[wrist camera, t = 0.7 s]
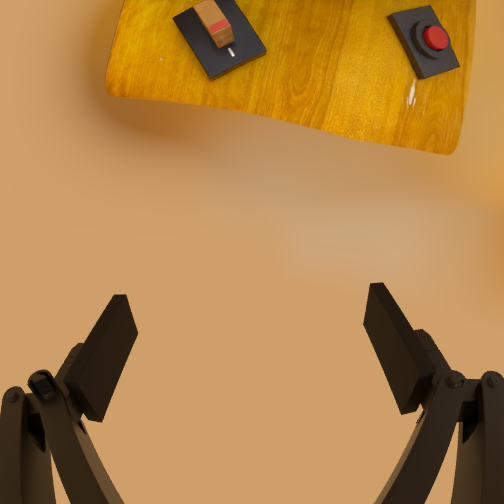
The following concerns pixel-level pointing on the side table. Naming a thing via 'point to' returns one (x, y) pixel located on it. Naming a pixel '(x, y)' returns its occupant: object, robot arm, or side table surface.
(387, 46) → the side table surface
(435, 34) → the release button
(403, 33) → the box
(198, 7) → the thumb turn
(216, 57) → the lock plate
